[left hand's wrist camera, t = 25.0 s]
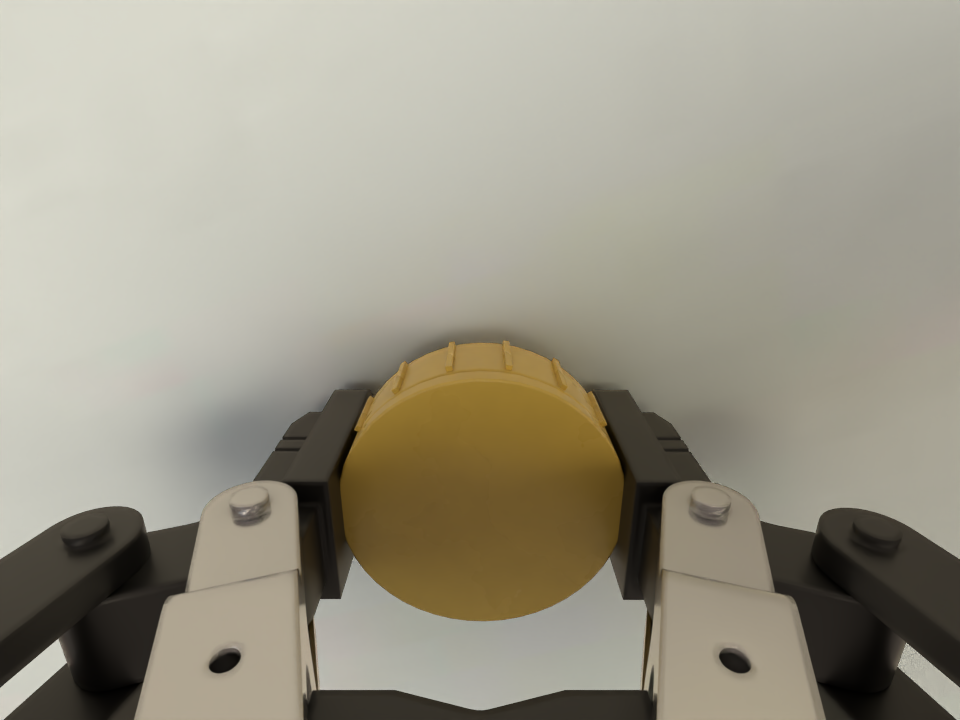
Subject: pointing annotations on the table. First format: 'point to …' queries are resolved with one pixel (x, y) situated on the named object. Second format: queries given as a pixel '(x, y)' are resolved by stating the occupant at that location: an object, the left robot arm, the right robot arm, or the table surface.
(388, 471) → the lid
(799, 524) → the table surface
